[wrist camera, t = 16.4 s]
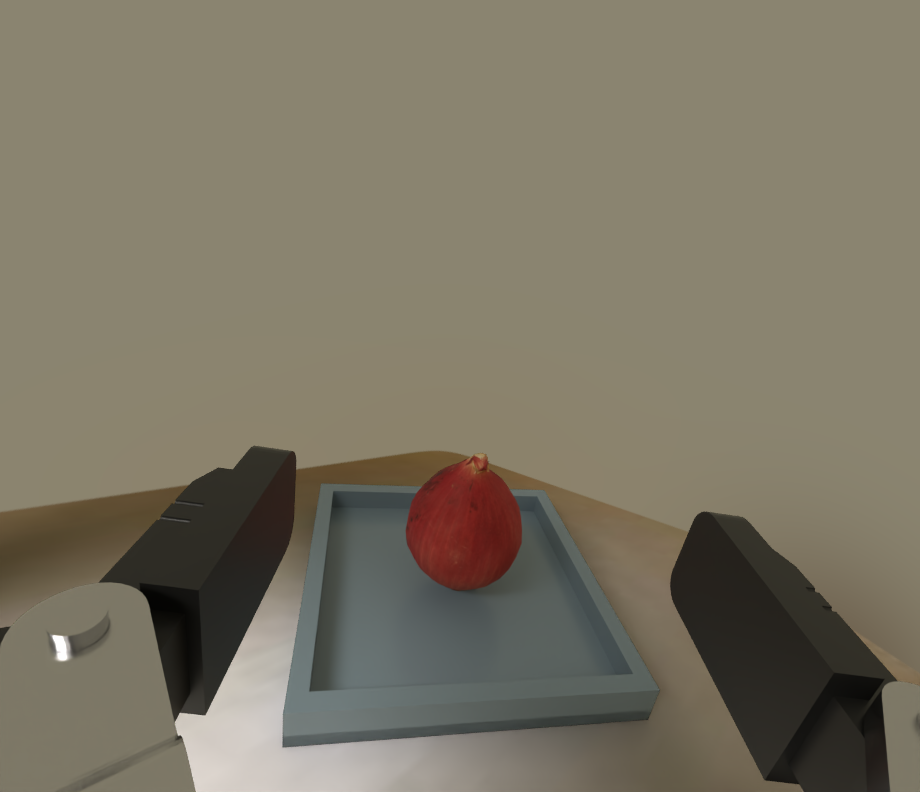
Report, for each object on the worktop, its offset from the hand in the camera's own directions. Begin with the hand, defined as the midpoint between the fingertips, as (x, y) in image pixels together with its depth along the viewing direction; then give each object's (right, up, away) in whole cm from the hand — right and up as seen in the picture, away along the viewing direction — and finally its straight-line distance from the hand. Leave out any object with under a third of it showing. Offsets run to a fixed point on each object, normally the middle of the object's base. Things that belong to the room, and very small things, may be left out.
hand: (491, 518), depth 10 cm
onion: (-1, -8, +16) cm, 18 cm away
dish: (-1, -8, +17) cm, 19 cm away
